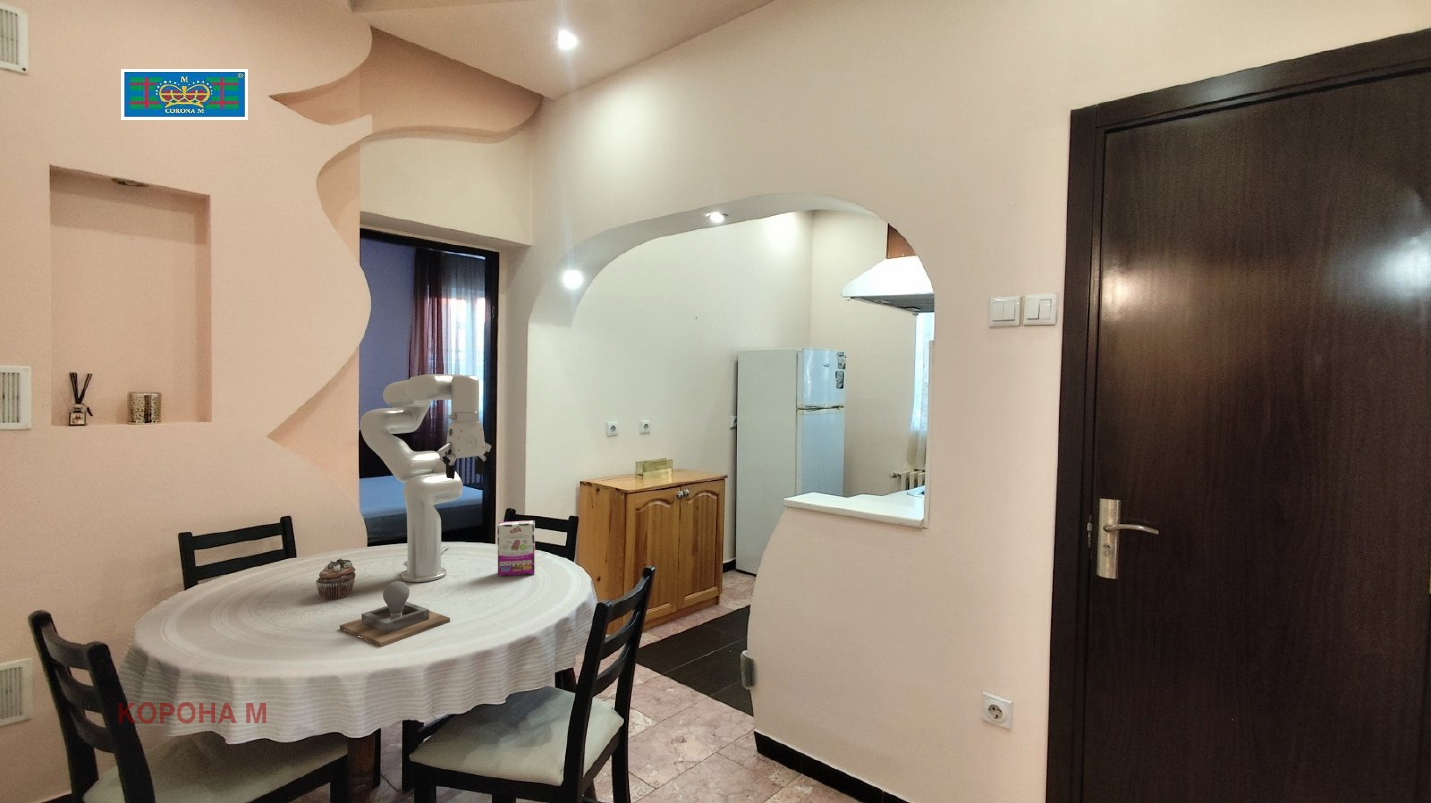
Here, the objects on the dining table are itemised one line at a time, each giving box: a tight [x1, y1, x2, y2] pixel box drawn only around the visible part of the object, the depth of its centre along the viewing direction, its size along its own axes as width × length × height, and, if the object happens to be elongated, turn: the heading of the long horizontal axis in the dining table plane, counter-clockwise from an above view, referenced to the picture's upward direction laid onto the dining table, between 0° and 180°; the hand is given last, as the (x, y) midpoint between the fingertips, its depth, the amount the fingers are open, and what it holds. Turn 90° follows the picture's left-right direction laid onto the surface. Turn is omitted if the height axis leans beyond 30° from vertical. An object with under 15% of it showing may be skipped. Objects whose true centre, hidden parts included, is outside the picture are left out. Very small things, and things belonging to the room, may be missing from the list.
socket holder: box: [339, 601, 451, 648], centre depth 159 cm, size 18×18×4 cm
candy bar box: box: [497, 520, 536, 577], centre depth 201 cm, size 11×5×16 cm, turn 104°
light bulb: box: [382, 580, 411, 620], centre depth 159 cm, size 6×6×10 cm
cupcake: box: [315, 558, 356, 601], centre depth 180 cm, size 10×10×10 cm
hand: (465, 476), depth 185 cm, fingers open, 9 cm apart
